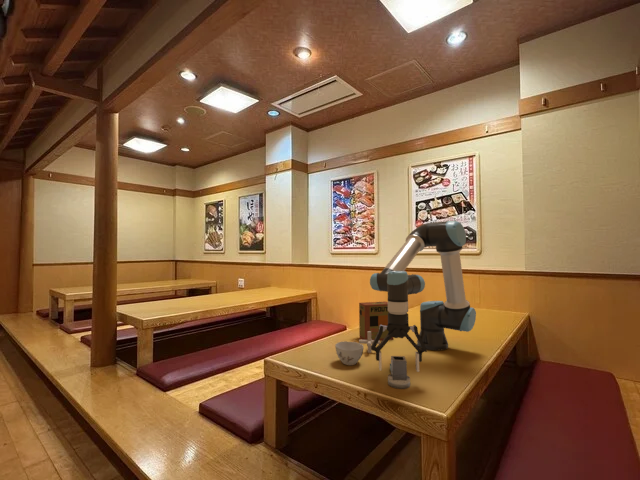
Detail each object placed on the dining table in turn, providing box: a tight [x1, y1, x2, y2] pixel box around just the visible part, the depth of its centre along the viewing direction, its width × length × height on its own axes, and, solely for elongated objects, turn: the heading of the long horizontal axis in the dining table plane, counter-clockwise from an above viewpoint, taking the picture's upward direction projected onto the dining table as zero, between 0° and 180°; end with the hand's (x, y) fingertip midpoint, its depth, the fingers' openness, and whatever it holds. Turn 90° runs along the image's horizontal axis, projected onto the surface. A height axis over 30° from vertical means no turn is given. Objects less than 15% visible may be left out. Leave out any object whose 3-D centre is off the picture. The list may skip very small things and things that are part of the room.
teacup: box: [334, 341, 364, 366], centre depth 142 cm, size 15×12×8 cm
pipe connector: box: [358, 331, 381, 354], centre depth 156 cm, size 10×10×10 cm
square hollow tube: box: [390, 355, 408, 380], centre depth 119 cm, size 5×5×7 cm
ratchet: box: [387, 363, 411, 390], centre depth 124 cm, size 8×20×7 cm, turn 174°
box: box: [358, 301, 394, 342], centre depth 181 cm, size 17×9×20 cm, turn 104°
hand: (398, 370), depth 119 cm, fingers open, 13 cm apart
